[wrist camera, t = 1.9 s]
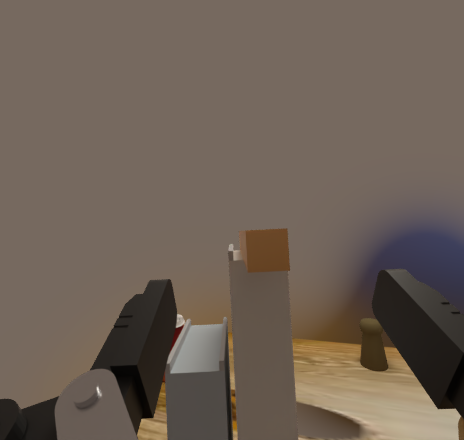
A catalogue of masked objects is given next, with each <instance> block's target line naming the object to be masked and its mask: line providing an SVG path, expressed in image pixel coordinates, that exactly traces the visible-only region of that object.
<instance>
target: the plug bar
mask: <svg viewBox="0 0 464 440" xmlns="http://www.w3.org/2000/svg"><path fill="white" fill-rule="evenodd" d="M239 238H240V252H241V255H242V258H243V261H244V263H245V266H246V269H247V272H248V273H252V272H272V271H290V265H289V249H288V233H287V229H267V230H247V231H239Z"/></svg>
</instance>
